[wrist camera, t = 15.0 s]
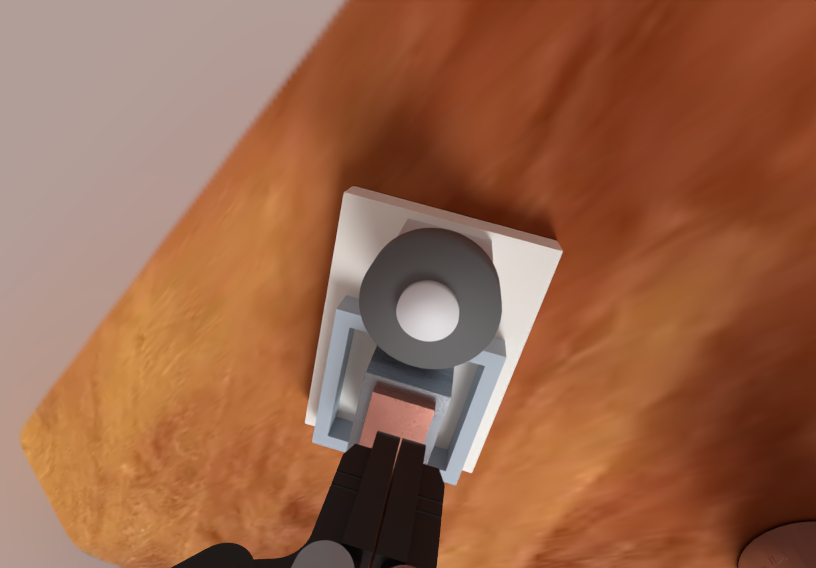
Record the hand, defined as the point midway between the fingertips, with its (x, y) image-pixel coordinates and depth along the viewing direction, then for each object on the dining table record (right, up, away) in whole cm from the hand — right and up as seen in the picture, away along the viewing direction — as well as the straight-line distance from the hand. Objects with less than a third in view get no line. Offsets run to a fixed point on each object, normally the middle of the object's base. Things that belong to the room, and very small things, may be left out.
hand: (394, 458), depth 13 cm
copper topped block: (0, -2, +17) cm, 17 cm away
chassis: (+1, +2, +18) cm, 18 cm away
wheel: (+2, +6, +13) cm, 15 cm away
